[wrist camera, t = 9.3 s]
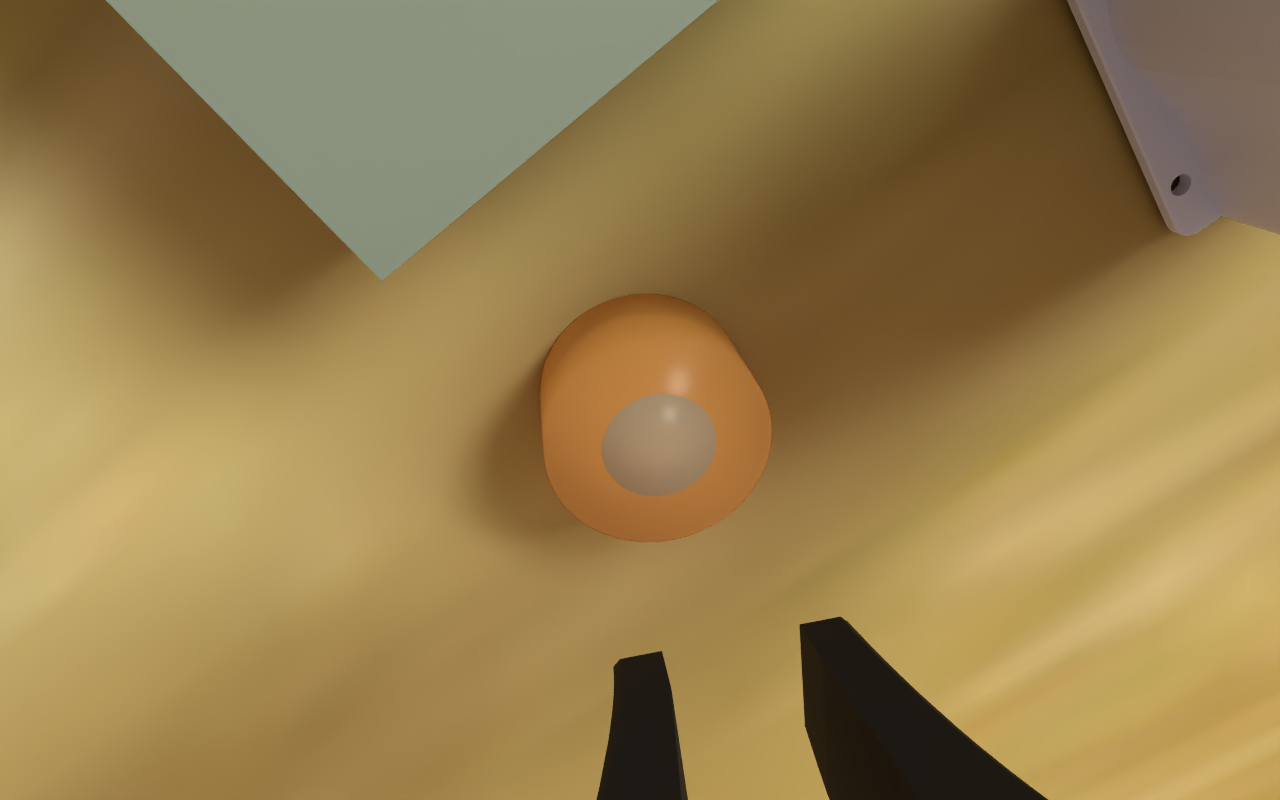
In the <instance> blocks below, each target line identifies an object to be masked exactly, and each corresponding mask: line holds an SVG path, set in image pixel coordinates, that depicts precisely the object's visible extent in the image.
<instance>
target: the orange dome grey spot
mask: <svg viewBox="0 0 1280 800" xmlns="http://www.w3.org/2000/svg"><path fill="white" fill-rule="evenodd" d="M540 404H541V420H542V437H543V453H544V461H545V467H546V471H547V475H548V478H549V481H550V483H551V485H552V487H553V489H554V491H555V493H556V494H557V496H558V498H559V499H560V501H561V502H562V503H563V504H564V506H565V507H566V508H567V509H568V510H569V511H570V512H571V513H572V514H573V515H574V516H575V517H577V518H578V519H579V520H580V521H582V522H583V523H585V524H586V525H588V526H589V527H591V528H593V529H595V530H597V531H599V532H601V533H603V534H606V535H609V536H612V537H615V538H619V539H624V540H628V541H637V542H660V541H668V540H674V539H678V538H682V537H686V536H689V535H692V534H695V533H697V532H700V531H702V530H704V529H706V528H708V527H710V526H712V525H714V524H715V523H717V522H719V521H720V520H722V519H723V518H725V517H726V516H727V515H729V514H730V513H731V512H732V511H734V510H735V509H736V508H737V507H738V506H739V505H740V504H741V503H742V502H743V501H744V500H745V499H746V497H747V496H748V495H749V494H750V492H751V491H752V490H753V489H754V487H755V485H756V484H757V482H758V480H759V479H760V477H761V475H762V473H763V470H764V468H765V466H766V463H767V460H768V456H769V453H770V447H771V440H772V425H771V417H770V412H769V408H768V405H767V402H766V399H765V397H764V395H763V393H762V391H761V389H760V387H759V385H758V384H757V382H756V381H755V379H754V377H753V376H752V374H751V373H750V371H749V369H748V368H747V366H746V365H745V363H744V361H743V360H742V358H741V357H740V355H739V353H738V352H737V350H736V349H735V347H734V346H733V344H732V342H731V341H730V339H729V338H728V336H727V335H726V333H725V332H724V330H723V329H722V328H721V327H720V326H719V324H718V323H717V322H716V321H715V320H714V319H713V318H711V317H710V316H709V315H708V314H707V313H705V312H704V311H702V310H701V309H699V308H698V307H696V306H694V305H692V304H690V303H688V302H685V301H683V300H680V299H677V298H673V297H670V296H664V295H658V294H636V295H628V296H623V297H619V298H615V299H612V300H609V301H606V302H604V303H601V304H599V305H597V306H595V307H593V308H591V309H589V310H588V311H586V312H585V313H584V314H582V315H581V316H579V317H578V318H577V319H576V320H574V321H573V322H572V323H571V324H570V325H569V326H568V327H567V328H566V329H565V330H564V331H563V332H562V334H561V335H560V336H559V337H558V339H557V340H556V342H555V343H554V345H553V346H552V348H551V350H550V352H549V354H548V356H547V358H546V361H545V364H544V368H543V371H542V376H541V382H540Z"/></svg>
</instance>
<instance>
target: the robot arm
mask: <svg viewBox="0 0 1280 800" xmlns="http://www.w3.org/2000/svg"><path fill="white" fill-rule="evenodd" d="M1067 2H1068V4H1069V6H1070V8H1071V11H1072V13H1073V15H1074V17H1075V20H1076V22H1077V24H1078V26H1079V29H1080V31H1081V33H1082V35H1083V38H1084V40H1085V42H1086V45H1087V47H1088V49H1089V51H1090V54H1091V56H1092V58H1093V60H1094V63H1095V65H1096V67H1097V69H1098V72H1099V74H1100V76H1101V79H1102V81H1103V83H1104V85H1105V88H1106V90H1107V92H1108V94H1109V97H1110V99H1111V101H1112V103H1113V106H1114V108H1115V110H1116V112H1117V115H1118V117H1119V119H1120V122H1121V124H1122V126H1123V128H1124V131H1125V133H1126V135H1127V137H1128V140H1129V142H1130V144H1131V146H1132V149H1133V151H1134V153H1135V156H1136V158H1137V160H1138V162H1139V165H1140V167H1141V169H1142V171H1143V174H1144V176H1145V178H1146V180H1147V183H1148V185H1149V187H1150V189H1151V192H1152V194H1153V196H1154V199H1155V201H1156V203H1157V205H1158V208H1159V210H1160V212H1161V214H1162V217H1163V219H1164V221H1165V223H1166V226H1167V227H1168V228H1169V230H1170V231H1172V232H1175V233H1178V234H1180V235H1183V236H1191V235H1194V234H1196V233H1198V232H1200V231H1201V230H1203V229H1204V228H1206V227H1207V226H1208V225H1210V224H1211V223H1213V222H1214V221H1216V220H1217V219H1219V218H1220V217H1221V216H1222V217H1225V218H1228V219H1232V220H1235V221H1238V222H1241V223H1245V224H1248V225H1251V226H1254V227H1257V228H1261V229H1264V230H1267V231H1270V232H1274V233H1277V234H1280V0H1067ZM1177 176H1180V181H1179V184H1178V186H1177V187H1176V188H1175V189H1174V190H1173V191H1171V184H1172V182H1173V180H1174V179H1175V178H1176V177H1177ZM800 641H801V660H802V678H803V697H804V716H805V727H806V730H807V733H808V737H809V740H810V743H811V746H812V749H813V752H814V755H815V758H816V762H817V765H818V768H819V771H820V774H821V776H822V779H823V782H824V785H825V788H826V791H827V794H828V797H829V799H830V800H1048V799H1047V798H1045V797H1044V796H1042V795H1041V794H1040V793H1038V792H1037V791H1036V790H1034V789H1033V788H1032V787H1030V786H1029V785H1028V784H1026V783H1025V782H1024V781H1022V780H1021V779H1020V778H1019V777H1017V776H1016V775H1015V774H1013V773H1012V772H1011V771H1010V770H1008V769H1007V768H1006V767H1004V766H1003V765H1002V764H1001V763H1000V762H998V761H997V760H996V759H995V758H993V757H992V756H991V755H990V754H988V753H987V752H986V751H985V750H983V749H982V748H981V747H980V746H979V745H977V744H976V743H975V742H974V741H973V740H971V739H970V738H969V737H968V736H967V735H966V734H964V733H963V732H962V731H961V730H960V729H958V728H957V727H956V726H955V725H954V724H953V723H952V722H951V721H949V720H948V719H947V718H946V717H945V716H944V715H943V714H942V713H941V712H939V711H938V710H937V709H936V708H935V707H934V706H933V705H932V704H930V703H929V702H928V701H927V700H926V699H925V698H924V697H923V696H922V695H920V694H919V693H918V692H917V691H916V690H915V689H914V688H913V687H912V686H911V685H910V684H909V683H908V682H907V681H906V680H905V679H904V678H903V677H902V676H900V675H899V674H898V673H897V672H896V671H895V670H894V669H893V668H892V667H891V666H890V665H889V664H888V663H887V662H886V661H885V660H884V659H883V658H882V657H881V656H880V655H879V654H878V653H877V652H876V651H875V650H874V649H873V648H872V647H871V646H870V645H869V644H868V643H867V642H866V641H865V639H864V638H863V637H862V636H861V635H860V634H859V633H858V632H857V631H856V630H855V629H854V628H853V627H852V626H851V625H850V624H849V623H848V622H847V621H846V620H844V619H843V618H842V617H836V618H831V619H826V620H821V621H816V622H810V623H805V624H800ZM597 800H688V798H687V791H686V784H685V778H684V771H683V764H682V758H681V751H680V744H679V737H678V731H677V724H676V717H675V711H674V704H673V697H672V690H671V686H670V682H669V678H668V674H667V670H666V666H665V662H664V658H663V654H662V651H660V652H655V653H650V654H644V655H639V656H634V657H629V658H624V659H620V660H619V661H618V662H617V663H616V664H615V666H614V699H613V710H612V719H611V726H610V734H609V741H608V746H607V751H606V756H605V762H604V767H603V772H602V777H601V782H600V787H599V792H598V796H597Z"/></svg>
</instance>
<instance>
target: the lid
mask: <svg viewBox="0 0 1280 800" xmlns="http://www.w3.org/2000/svg"><path fill="white" fill-rule="evenodd" d="M106 1H107V2H108V3H109V4H110V5H111V6H112V7H113V8H114V9H115V10H116V11H117V12H118V13H119V14H120V15H121V16H122V17H123V18H124V19H125V20H126V21H127V23H128V24H129V25H130V26H131V27H132V28H133V29H134V30H135V31H136V32H137V33H138V34H139V35H140V36H141V37H142V38H143V39H144V40H145V41H146V42H147V43H148V44H149V45H150V46H151V47H152V48H153V49H154V50H155V51H156V52H157V53H158V54H159V55H160V56H161V57H162V58H163V59H164V60H165V61H166V62H167V63H168V64H169V65H170V66H171V67H172V68H173V69H174V70H175V71H176V72H177V73H178V74H179V75H180V76H181V77H182V78H183V79H184V80H185V82H186V83H187V84H188V85H189V86H190V87H191V88H192V89H193V90H194V91H195V92H196V93H197V94H198V95H199V96H200V97H201V98H202V99H203V100H204V101H205V102H206V103H207V104H208V105H209V106H210V107H211V108H212V109H213V110H214V111H215V112H216V113H217V114H218V115H219V116H220V117H221V118H222V119H223V120H224V121H225V122H226V123H227V124H228V125H229V126H230V127H231V128H232V129H233V130H234V131H235V132H236V133H237V134H238V135H239V136H240V137H241V138H242V139H243V141H244V142H245V143H246V144H247V145H248V146H249V147H250V148H251V149H252V150H253V151H254V152H255V153H256V154H257V155H258V156H259V157H260V158H261V159H262V160H263V161H264V162H265V163H266V164H267V165H268V166H269V167H270V168H271V169H272V170H273V171H274V172H275V173H276V174H277V175H278V176H279V177H280V178H281V179H282V180H283V181H284V182H285V183H286V184H287V185H288V186H289V187H290V188H291V189H292V190H293V191H294V192H295V193H296V194H297V195H298V196H299V197H300V198H301V200H302V201H303V202H304V203H305V204H306V205H307V206H308V207H309V208H310V209H311V210H312V211H313V212H314V213H315V214H316V215H317V216H318V217H319V218H320V219H321V220H322V221H323V222H324V223H325V224H326V225H327V226H328V227H329V228H330V229H331V230H332V231H333V232H334V233H335V234H336V235H337V236H338V237H339V238H340V239H341V240H342V241H343V242H344V243H345V244H346V245H347V246H348V247H349V248H350V249H351V250H352V251H353V252H354V253H355V254H356V255H357V256H358V257H359V259H360V260H361V261H362V262H363V263H364V264H365V265H366V266H367V267H368V268H369V269H370V270H371V271H372V272H373V273H374V274H375V275H376V276H377V277H378V278H379V279H380V280H381V281H383V280H384V279H385V278H386V277H387V276H389V275H390V274H391V273H392V272H393V271H394V270H396V269H397V268H398V267H399V266H400V265H402V264H403V263H404V262H405V261H406V260H408V259H409V258H410V257H411V256H412V255H414V254H415V253H416V252H417V251H418V250H420V249H421V248H422V247H423V246H424V245H426V244H427V243H428V242H429V241H430V240H432V239H433V238H434V237H435V236H436V235H438V234H439V233H440V232H441V231H442V230H444V229H445V228H446V227H447V226H448V225H450V224H451V223H452V222H453V221H454V220H456V219H457V218H458V217H459V216H460V215H462V214H463V213H464V212H465V211H466V210H468V209H469V208H470V207H471V206H472V205H474V204H475V203H476V202H477V201H478V200H480V199H481V198H482V197H483V196H484V195H485V194H487V193H488V192H489V191H490V190H491V189H493V188H494V187H495V186H496V185H497V184H499V183H500V182H501V181H502V180H503V179H505V178H506V177H507V176H508V175H509V174H511V173H512V172H513V171H514V170H515V169H517V168H518V167H519V166H520V165H521V164H523V163H524V162H525V161H526V160H527V159H529V158H530V157H531V156H532V155H533V154H535V153H536V152H537V151H538V150H539V149H541V148H542V147H543V146H544V145H545V144H547V143H548V142H549V141H550V140H551V139H553V138H554V137H555V136H556V135H557V134H559V133H560V132H561V131H562V130H563V129H565V128H566V127H567V126H568V125H569V124H571V123H572V122H573V121H574V120H575V119H576V118H578V117H579V116H580V115H581V114H582V113H584V112H585V111H586V110H587V109H588V108H590V107H591V106H592V105H593V104H594V103H596V102H597V101H598V100H599V99H600V98H602V97H603V96H604V95H605V94H606V93H608V92H609V91H610V90H611V89H612V88H614V87H615V86H616V85H617V84H618V83H620V82H621V81H622V80H623V79H624V78H626V77H627V76H628V75H629V74H630V73H632V72H633V71H634V70H635V69H636V68H638V67H639V66H640V65H641V64H642V63H644V62H645V61H646V60H647V59H648V58H650V57H651V56H652V55H653V54H654V53H656V52H657V51H658V50H659V49H660V48H661V47H663V46H664V45H665V44H666V43H667V42H669V41H670V40H671V39H672V38H673V37H675V36H676V35H677V34H678V33H679V32H681V31H682V30H683V29H684V28H685V27H687V26H688V25H689V24H690V23H691V22H693V21H694V20H695V19H696V18H697V17H699V16H700V15H701V14H702V13H703V12H705V11H706V10H707V9H708V8H709V7H711V6H712V5H713V4H714V3H715V2H717V1H718V0H106Z"/></svg>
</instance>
